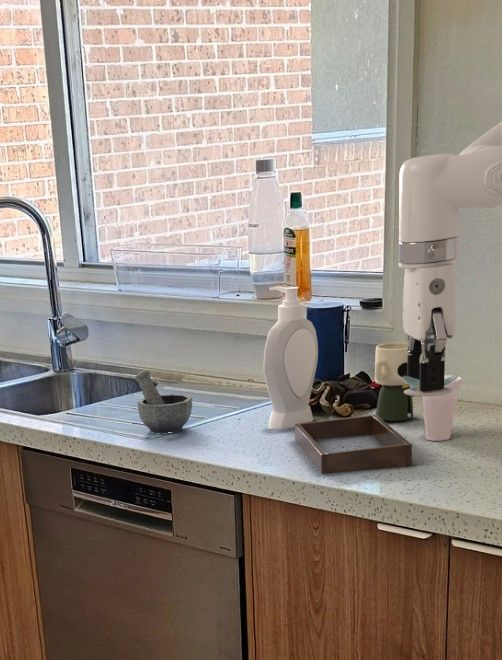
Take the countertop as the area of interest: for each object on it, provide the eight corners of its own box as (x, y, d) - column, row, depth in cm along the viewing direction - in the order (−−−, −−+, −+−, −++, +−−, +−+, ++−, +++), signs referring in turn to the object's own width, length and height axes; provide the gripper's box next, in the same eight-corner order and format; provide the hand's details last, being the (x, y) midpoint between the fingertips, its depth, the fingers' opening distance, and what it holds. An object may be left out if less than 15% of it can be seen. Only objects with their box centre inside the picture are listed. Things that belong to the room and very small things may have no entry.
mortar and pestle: (202, 433, 226) (201, 368, 221) (172, 445, 220) (169, 378, 216) (154, 428, 234) (152, 365, 229) (123, 439, 228) (120, 375, 223)
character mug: (392, 429, 210) (395, 352, 205) (357, 424, 215) (359, 349, 210) (430, 415, 215) (434, 341, 210) (396, 411, 221) (399, 338, 215)
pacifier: (452, 399, 169) (458, 388, 173) (454, 353, 166) (460, 344, 171) (397, 399, 172) (404, 389, 177) (398, 355, 169) (406, 345, 174)
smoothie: (419, 443, 198) (423, 356, 193) (415, 434, 204) (419, 349, 198) (461, 441, 197) (466, 353, 191) (456, 432, 202) (461, 346, 197)
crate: (376, 434, 208) (376, 414, 207) (411, 466, 187) (412, 444, 186) (295, 443, 209) (294, 423, 208) (321, 476, 189) (321, 454, 188)
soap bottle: (296, 416, 228) (296, 280, 218) (327, 421, 222) (329, 282, 212) (244, 430, 222) (242, 291, 212) (275, 435, 216) (274, 293, 206)
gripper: (476, 254, 158) (471, 394, 165) (438, 244, 173) (435, 372, 180) (416, 262, 158) (414, 401, 166) (384, 251, 174) (383, 378, 181)
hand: (425, 384), depth 173 cm, fingers closed on pacifier, 5 cm apart
